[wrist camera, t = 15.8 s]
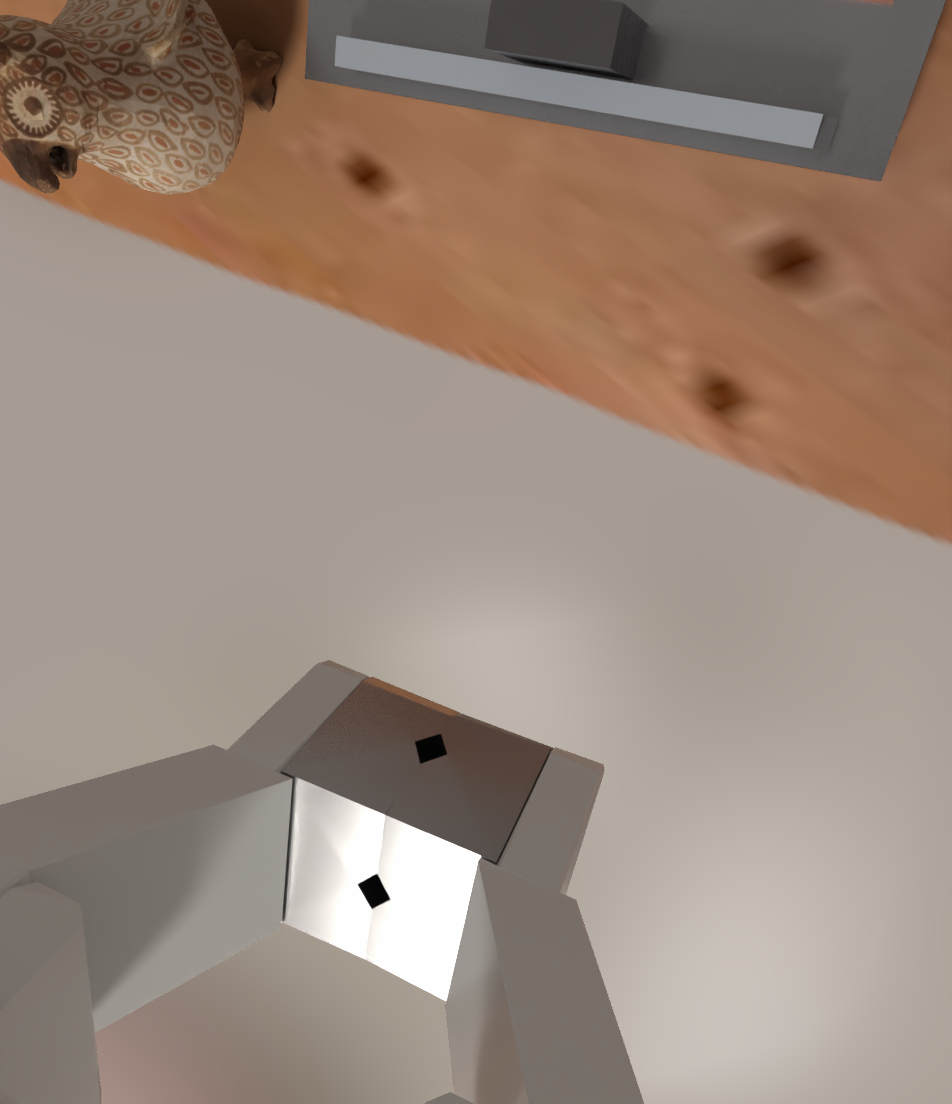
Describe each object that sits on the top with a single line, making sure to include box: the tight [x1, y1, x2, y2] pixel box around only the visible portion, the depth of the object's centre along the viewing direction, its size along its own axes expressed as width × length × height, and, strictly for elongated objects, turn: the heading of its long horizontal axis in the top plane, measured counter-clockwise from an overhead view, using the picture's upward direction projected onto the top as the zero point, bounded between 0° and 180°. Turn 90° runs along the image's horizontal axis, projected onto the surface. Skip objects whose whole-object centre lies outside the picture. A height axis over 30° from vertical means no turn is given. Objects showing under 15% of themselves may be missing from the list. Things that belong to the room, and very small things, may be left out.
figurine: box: [0, 0, 282, 194], centre depth 33 cm, size 9×10×15 cm
